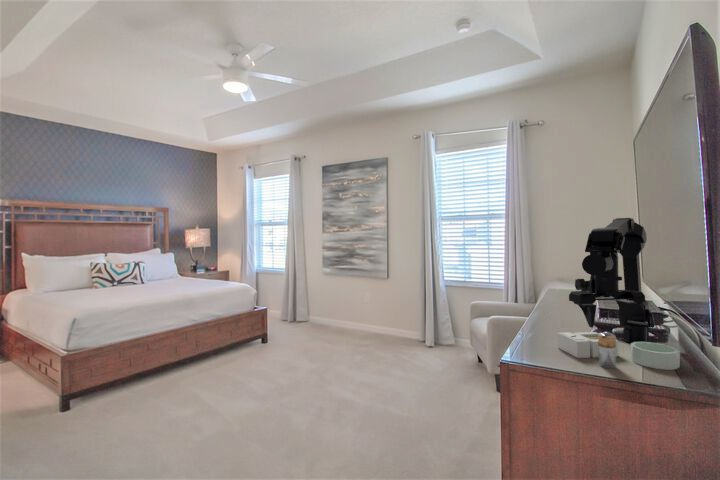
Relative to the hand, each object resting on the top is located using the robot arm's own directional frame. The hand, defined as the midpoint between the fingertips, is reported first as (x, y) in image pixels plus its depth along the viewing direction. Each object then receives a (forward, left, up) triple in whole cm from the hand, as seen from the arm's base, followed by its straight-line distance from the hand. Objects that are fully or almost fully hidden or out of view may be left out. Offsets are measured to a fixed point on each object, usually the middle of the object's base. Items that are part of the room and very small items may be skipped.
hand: (606, 326), depth 101 cm
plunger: (-5, -12, -8) cm, 15 cm away
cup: (-15, -1, -11) cm, 19 cm away
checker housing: (-3, -12, -11) cm, 17 cm away
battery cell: (0, 0, -11) cm, 11 cm away
